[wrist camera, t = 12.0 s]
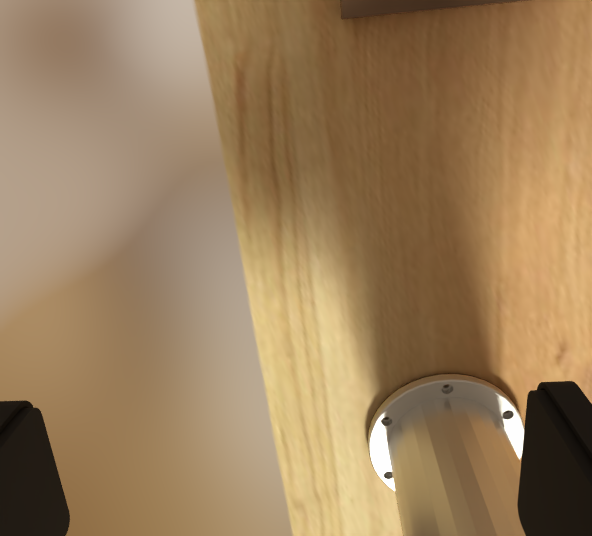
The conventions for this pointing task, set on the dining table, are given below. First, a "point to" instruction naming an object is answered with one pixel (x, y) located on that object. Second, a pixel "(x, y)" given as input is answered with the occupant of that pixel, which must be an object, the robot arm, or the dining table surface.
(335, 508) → the dining table surface
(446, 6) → the shaft block
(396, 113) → the dining table surface
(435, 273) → the dining table surface
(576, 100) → the dining table surface
